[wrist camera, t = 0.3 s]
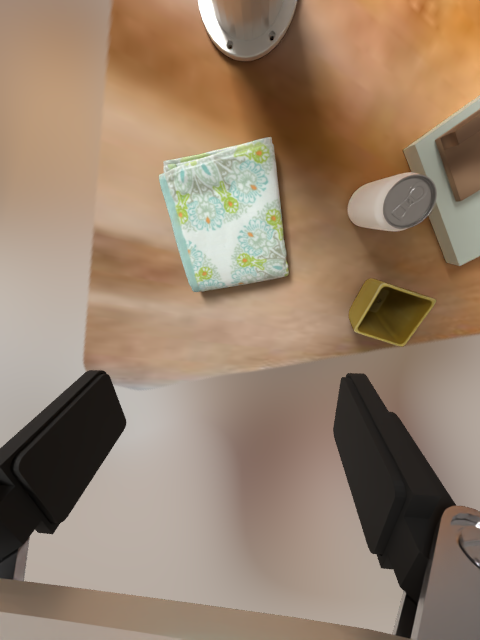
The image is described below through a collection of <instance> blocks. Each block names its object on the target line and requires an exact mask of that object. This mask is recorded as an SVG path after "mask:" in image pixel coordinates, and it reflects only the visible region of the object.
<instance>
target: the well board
mask: <svg viewBox="0 0 480 640" xmlns="http://www.w3.org/2000/svg"><path fill="white" fill-rule="evenodd" d="M479 109H480V95H479V96H478V97H477V98H475V99H474V100H472V101H471V102H469V103H468V104H467V105H465V106H464V107H462V108H461V109H460V110H458V111H457V112H455V113H454V114H453V115H451V116H450V117H448V118H447V119H446V120H444V121H443V122H441V123H440V124H439V125H437V126H436V127H434V128H433V129H432V130H430V131H429V132H427V133H426V134H425V135H423V136H422V137H420V138H419V139H418V140H416V141H415V142H413V143H412V144H411V145H409V146H408V147H406V148H405V149H403V151H404V154H405V157H406V159H407V162H408V164H409V167H410V170H411V172H414V173H418V174H421V175H425V176H427V177H429V178H430V179H431V180H432V181H433V182H434V184H435V186H436V189H437V198H436V202H435V205H434V207H433V209H432V211H431V212H430V214H429V215H428V216H429V219H430V221H431V224H432V227H433V229H434V232H435V234H436V237H437V239H438V242H439V245H440V247H441V250H442V252H443V255H444V258H445V260H446V263H450V264H453V265H457V266H461V265H463V264H465V263H467V262H469V261H471V260H473V259H475V258H477V257H479V256H480V190H479V191H477V192H476V193H474V194H472V195H471V196H469V197H467V198H466V199H464V200H462V201H455V198H454V195H453V192H452V189H451V186H450V183H449V180H448V177H447V174H446V171H445V169H444V166H443V163H442V160H441V157H440V154H439V151H438V148H437V145H436V142H435V140H436V139H437V138H438V137H440V136H441V135H443V134H444V133H446V132H447V131H448V130H450V129H451V128H453V127H454V126H456V125H457V124H459V123H460V122H461V121H463V120H464V119H466V118H467V117H469V116H470V115H471V114H473V113H474V112H476V111H477V110H479Z"/></svg>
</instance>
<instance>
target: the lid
mask: <svg viewBox="0 0 480 640" xmlns="http://www.w3.org/2000/svg"><path fill="white" fill-rule="evenodd" d="M435 142H436V145H437V148H438V151H439V154H440V157H441V160H442V163H443V166H444V169H445V171H446V174H447V177H448V180H449V183H450V186H451V189H452V192H453V195H454V198H455V201H462V200H464V199H466V198H467V197H469V196H471V195H472V194H474V193H476V192H477V191H479V190H480V109H479V110H477V111H476V112H474V113H473V114H471V115H470V116H469V117H467V118H466V119H464V120H463V121H461V122H460V123H459V124H457V125H456V126H454V127H453V128H451V129H450V130H448V131H447V132H446V133H444V134H443V135H441V136H440V137H438V138H437V139H436V140H435Z"/></svg>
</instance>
